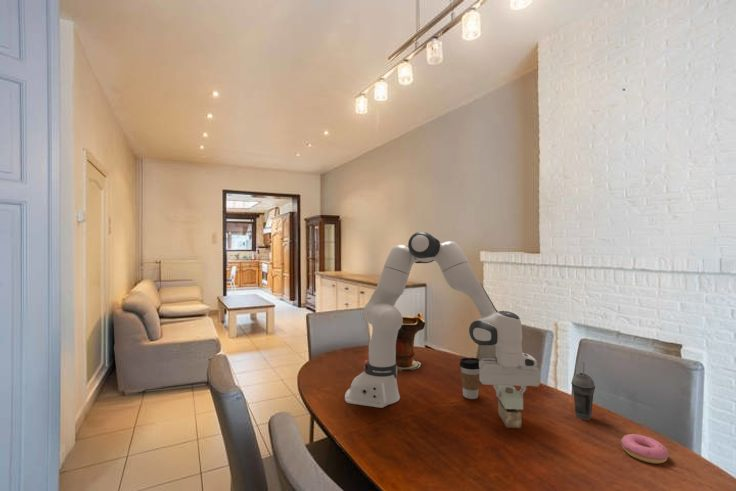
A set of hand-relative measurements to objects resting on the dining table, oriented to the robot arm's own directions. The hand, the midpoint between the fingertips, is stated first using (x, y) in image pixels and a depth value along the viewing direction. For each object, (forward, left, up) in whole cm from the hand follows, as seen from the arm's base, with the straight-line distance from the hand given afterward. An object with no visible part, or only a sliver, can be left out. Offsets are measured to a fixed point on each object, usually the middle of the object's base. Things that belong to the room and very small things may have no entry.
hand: (509, 396), depth 121 cm
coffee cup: (-10, +19, -8) cm, 23 cm away
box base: (0, 0, -8) cm, 8 cm away
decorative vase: (-38, +54, -8) cm, 66 cm away
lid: (0, 0, -2) cm, 2 cm away
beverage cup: (+27, +5, -8) cm, 29 cm away
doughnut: (+33, -17, -9) cm, 38 cm away
